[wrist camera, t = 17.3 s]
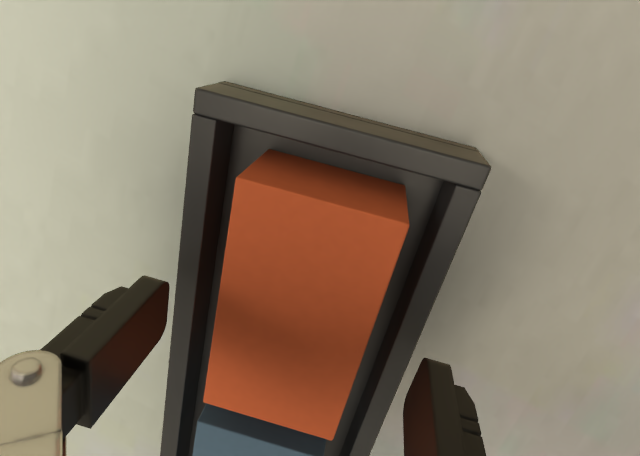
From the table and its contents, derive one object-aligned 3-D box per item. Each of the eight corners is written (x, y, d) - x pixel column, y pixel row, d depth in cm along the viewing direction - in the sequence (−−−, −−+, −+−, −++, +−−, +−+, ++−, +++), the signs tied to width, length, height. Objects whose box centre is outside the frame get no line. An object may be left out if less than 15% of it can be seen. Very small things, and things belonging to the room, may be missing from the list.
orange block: (268, 148, 15) (235, 176, 12) (406, 185, 14) (410, 224, 11) (234, 341, 19) (202, 402, 15) (342, 373, 18) (332, 442, 15)
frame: (223, 80, 15) (194, 87, 12) (477, 147, 14) (492, 166, 12) (174, 479, 24) (153, 521, 22) (325, 525, 24) (318, 574, 22)
